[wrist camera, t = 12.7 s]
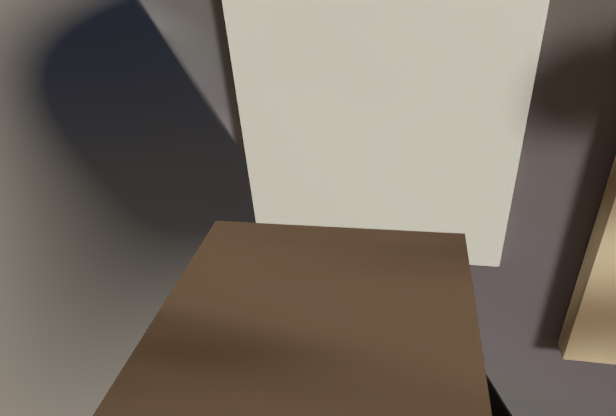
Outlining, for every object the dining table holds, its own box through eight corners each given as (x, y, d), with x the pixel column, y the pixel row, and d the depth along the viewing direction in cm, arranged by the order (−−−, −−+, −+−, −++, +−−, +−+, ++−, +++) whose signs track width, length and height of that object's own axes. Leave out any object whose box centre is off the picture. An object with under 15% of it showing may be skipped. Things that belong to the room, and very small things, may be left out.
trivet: (497, 258, 21) (498, 266, 21) (263, 243, 23) (260, 250, 23) (552, -42, 15) (557, -40, 14) (224, -23, 17) (218, -22, 16)
